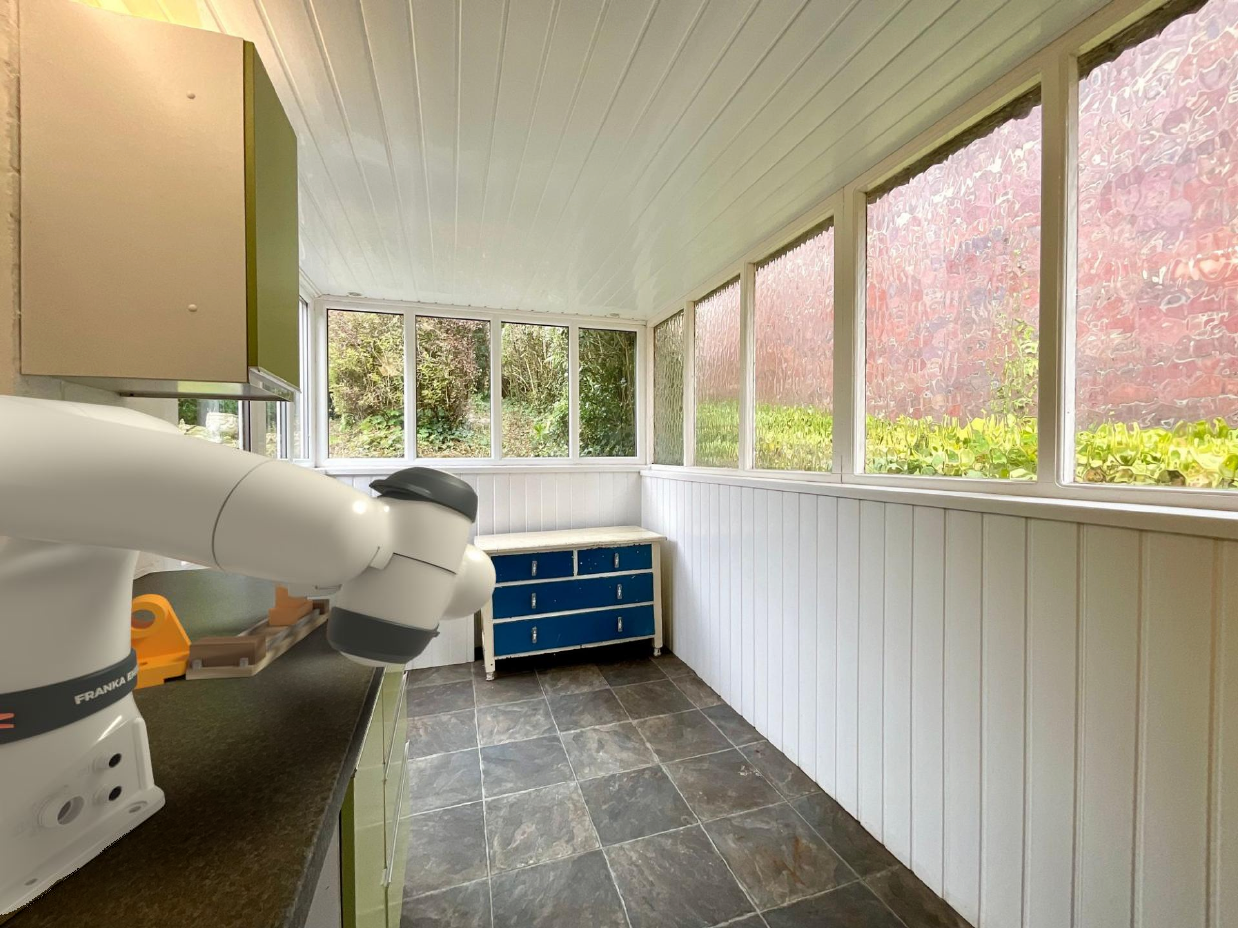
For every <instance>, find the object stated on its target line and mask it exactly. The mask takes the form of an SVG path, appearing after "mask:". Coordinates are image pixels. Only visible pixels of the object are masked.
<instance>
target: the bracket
mask: <svg viewBox="0 0 1238 928" xmlns="http://www.w3.org/2000/svg"><path fill="white" fill-rule="evenodd" d="M140 610H145V611H149V612H152V614H153V615H154V618H153V619H151V620H149V621H148V620H147V621H141V620H139V619H137V618H136V617H135V616H134V612H137V611H140ZM190 644H192V642H191V640H190V638H189V637H188V635H187V633H186V631H185V629H184V627H183V626H182V624H181V622H180V620H179V618H178V617H177V615H176V613H175V611H174V609H173V607H172V606H171V604H170V602H169V601H168V599H167V598H165V597H164V596H162V595H159V594H153V593H147V594H142V595H138V596H136V597H134V598H132V607H131V647H132V648H134V649H135V650H136V655H137V663H138V665H139V670H138V671H137V685H136V687H135V688H134V689H133V690H132V691H134V690H138V689H139V690H140V689H143V688H149V687H153V686H158V685H164V684H165V681H166V679H168V678H174V677H179V676H182V675H186V669H188V668H189V645H190Z"/></svg>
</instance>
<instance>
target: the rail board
mask: <svg viewBox="0 0 1238 928" xmlns="http://www.w3.org/2000/svg"><path fill="white" fill-rule="evenodd" d="M307 600H313V611H312V612H310V613H309V614H307V615H306V616H304V617H303V618H301V619H300V620H298V621H297V622H295V623H294V624H292V625H280V626H269V616H268V617H266V618H265V619H263V620H261V621H260V622H257V623H256V624H255V625H252V626H250V627H249V628H247V629H246V630H244V631H242V632H240V633H239V634H237V635H234V636H233V635H231V636H206V637H203V636H202V637H201V638H199V639H197V640H196V641H194V642H191V644H190V645H189V668H188V669H186V673H185V680H186V681H187V680H211V679H228V678H231V679H232V678H249V677H250V678H251V677H254V676H255V675H256V674H258V673H259V672H260V671H261V670H263V669H264V668H265V667H267V666H269V664H271V663H272V662H273V661H275V660H276V659H277V658H278V657H280V656H282V654H284V653H285V652H287V651H288V650H290V649H291V648H292V647H293V646H295V645H296V644H297V643H298V642H300V641H301V640H303V639H304V638H305V637H307V636H308V635H309V634H310V633H312V632H313V631H315V630H316V629H317V628H319V626H321V625H322V624H324V623H325V622H326V621H328V620H329V615H330V611H331V609H330V607H331V605H330V601H331V600H330V598H315V599H314V598H312V599H311V598H310V599H308V598H307ZM327 619H328V620H327Z"/></svg>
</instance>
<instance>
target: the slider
mask: <svg viewBox="0 0 1238 928" xmlns="http://www.w3.org/2000/svg"><path fill="white" fill-rule="evenodd" d="M274 588H275V589H274V590H275V600H274V601H275V604H274V607H271V608H270V609H268V617H269V626H280V625H292V624H294V623H295V622H297V621H298V620H300V619H301V618H303V617H304V616H306V615H307V614H309V613H310V612H312V611H313V600H308V597H303V598H293V597H290V596H289V595H288V589H287V588H283V587H274Z"/></svg>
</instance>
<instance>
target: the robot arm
mask: <svg viewBox="0 0 1238 928" xmlns="http://www.w3.org/2000/svg"><path fill="white" fill-rule="evenodd" d="M368 487H369V488H370V489H371V490H373V491H375V492H377V493H379V495H377V496H376V497H375V496H370V495H369V494H368V493H366V492H363V491H361V490H360V489H357V488H355V487H354V486H352V485H350V484H347V483H345V482H343V481H341V480H339V479H336V478H334V477H331V476H328V475H326V474H324V473H322V472H319V471H316V470H313V469H310V468H307V467H304V466H301V465H297V464H294V463H291V462H289V461H288V462H287V461H284V460H280V459H277V458H273V457H270V456H266V455H262V454H258V453H255V452H251V451H247V450H244V449H240V448H237V447H234V446H230V445H226V444H222V443H218V442H215V441H211V440H207V439H204V438H200V437H196V436H191V435H185V433H184V432H183V431H182V430H181V429H180V428H179V427H177V426H176V425H175V424H174V423H171V422H169V421H168V420H166V419H165V420H164V419H161V418H159V417H156V416H153V415H150V414H147V413H146V412H145V413H144V412H142V411H138V410H134V409H131V408H128V407H122V406H117V405H116V406H115V405H104V404H96V403H88V402H80V401H79V402H78V401H68V400H67V401H66V400H59V399H49V398H48V399H46V398H38V397H37V398H36V397H26V396H18V395H11V394H10V395H9V394H0V536H2V537H7V539H6V540H5V542H4V544H3V545H2V547H1V548H0V915H1V914H2V915H4V914H8V913H9V912H12V911H14V910H17V908H20V907H21V906H23V905H26V903H29V901H32V899H34V898H35V897H37V896H38V895H40V894H41V893H42V892H44V891H45V890H47V889H48V888H49V887H50V886H51V885H53V884H54V883H55V882H56V881H57V880H59V879H62V878H63V877H65V876H67V875H69V874H71V873H72V872H74V871H75V870H76V871H78V870H77V868H79V869H80V868H82V867H83V866H84V865H86V864H87V863H89V862H90V861H91V860H92V859H94V858H95V857H97V856H98V855H100V854H101V853H103V851H102V850H104V848H106V847H107V846H109V845H110V846H112V845H111V843H113V842H114V841H116V840H117V839H118V840H120V839H121V838H123V837H124V836H125V835H127V834H128V833H130V832H131V831H132V830H133V829H136V827H138V826H139V825H140V824H142V823H143V822H144V821H146V820H147V819H148V818H150V817H151V816H153V815H154V814H156V813H157V812H158V811H159V810H161V808H162V807H164V805H165V803H166V798H165V792H164V791H163V790H162V788H160V787H158V786H157V785H156V784H155V779H154V775H153V768H152V767H153V766H152V761H151V760H152V759H151V753H150V752H151V751H150V746H149V745H150V743H149V738H148V732H147V725H146V722H145V719H144V718H143V716H142V715H141V712H140V711H139V708H138V706H137V704H136V701H135V699H134V694H133V691H134V690H135V689H134V688H135V687H136V685H137V671H138V670H139V665H138V663H137V655H136V650H135V649H134V648H132V647H131V607H132V600H133V586H134V585H133V582H134V576H135V572H136V568H137V563H138V561H139V556H140V554H141V552H142V553H148V554H151V555H156V556H161V557H166V558H169V559H174V560H177V561H182V562H185V563H189V564H194V565H198V566H203V567H205V568H210V569H214V570H218V571H222V572H224V573H225V572H226V573H231V574H235V575H237V576H244V577H247V578H251V579H252V578H253V579H256V580H257V579H259V580H264V581H269V582H271V584H270V585H271V587H273V588H275V587H283V588H287V589H288V595H289V596H290V597H293V598H303V597H307V598H314V597H315V598H317V597H326V596H327V597H328V596H332V595H334V594H337V593H338V592H339V593H338V597H337V600H336V604H335V606H332V607H330V608H331V609H330V615H329V619H328V620H327V625H326V626H327V627H326V635H325V638H326V640H327V642H328V643H329V645H330V646H331V648H332V649H334V650H335V651H337V652H340V654H341V655H342V656H343V657H346V658H347V659H348V660H351V661H352V662H354V663H357V664H360V665H362V666H365V667H375V668H376V667H377V668H380V667H381V668H382V667H383V668H384V667H386V668H387V667H391V666H395V665H407V664H409V663H410V662H411V661H413V660H414V659H417V657H418V656H420V655H422V653H424V651H425V649H427V647H428V645H429V644H430V642H431V641H432V640H433V639H434V638H438V637H439V635H440V634H441V632H440V631H438V629H439V627H440V621H453V620H459V619H463V618H465V617H469V616H472V615H473V614H476V613H478V611H480V610H481V609H482V608H483V607H484V606H486V604H488V602H489V601H490V599H491V598H492V595H493V594H494V590H495V588H496V581H497V574H496V569H495V566H494V564H493V561H492V560H491V558H490V557H489V555H488V554H487V553H486V552H484V551H483V549H480V548H479V547H477V546H475V545H474V544H471V543H468V542H469V539H470V535H471V530H472V525H473V524H474V523H476V520H477V515H478V514H477V513H478V507H479V506H478V505H479V496H478V495H477V493H476V492H475V490H474V489H473V487H472V486H471V485H470V484H469V483H468V482H466V481H465V480H463V479H461V478H459V476H458V475H456V474H453V473H452V472H449V471H447V470H443V469H440V468H435V467H423V466H413V467H408V468H405V469H401V470H398V471H395V472H393V473H392V474H390V475H389V476H387V477H386V478H385V479H382V478H381V479H380V478H379V479H377V478H376V479H373V481H372V482H371V483H369V484H368ZM133 689H134V690H133ZM130 830H131V831H130ZM126 833H127V834H126ZM124 834H125V835H124ZM123 835H124V836H123ZM122 836H123V837H122ZM120 837H121V838H120ZM119 838H120V839H119ZM118 840H117V841H118ZM117 841H116V842H117ZM114 843H115V842H114ZM114 843H113V844H114ZM110 846H109V847H110ZM106 849H107V848H106ZM100 852H101V853H100ZM76 871H75V872H76ZM75 872H74V873H75ZM72 874H73V873H72ZM72 874H71V875H72Z"/></svg>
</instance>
